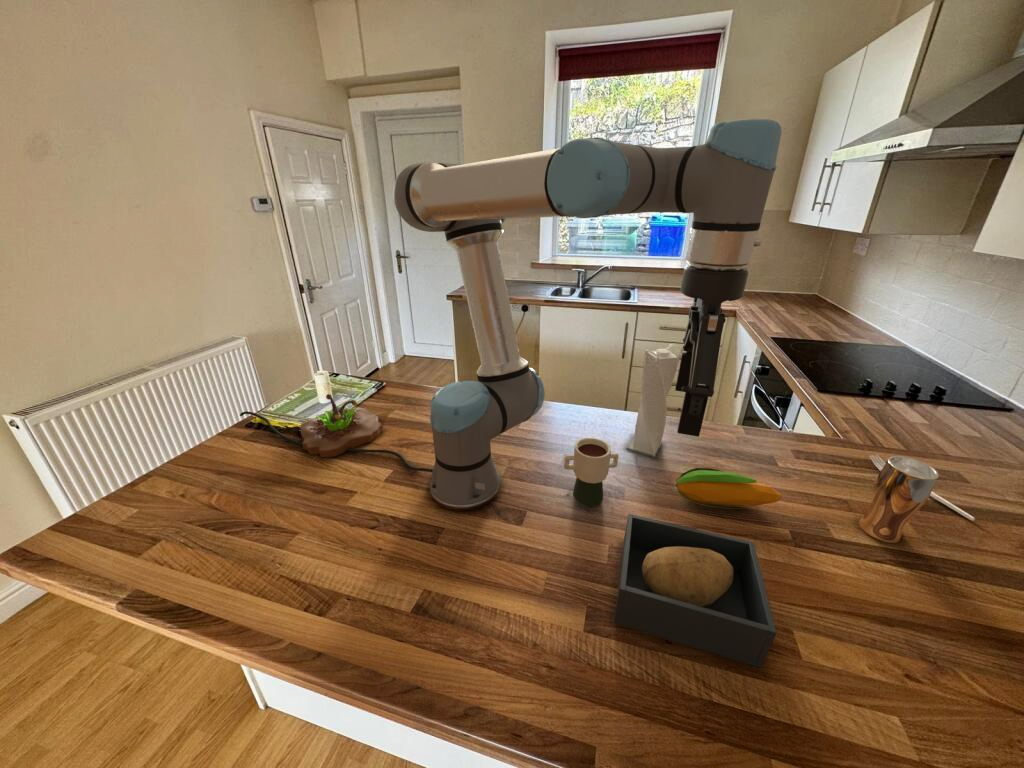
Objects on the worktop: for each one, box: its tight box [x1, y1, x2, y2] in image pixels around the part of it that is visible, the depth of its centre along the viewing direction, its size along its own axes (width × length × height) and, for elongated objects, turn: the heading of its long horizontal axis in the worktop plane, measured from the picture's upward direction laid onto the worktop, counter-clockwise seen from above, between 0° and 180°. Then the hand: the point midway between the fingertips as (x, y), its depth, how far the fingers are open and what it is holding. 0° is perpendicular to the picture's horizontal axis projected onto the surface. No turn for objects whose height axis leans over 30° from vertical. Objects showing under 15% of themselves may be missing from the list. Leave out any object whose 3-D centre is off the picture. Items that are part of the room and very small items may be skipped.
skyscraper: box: [625, 343, 684, 459], centre depth 95 cm, size 8×8×28 cm
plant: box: [299, 393, 384, 458], centre depth 105 cm, size 20×20×11 cm
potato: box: [642, 546, 733, 608], centre depth 62 cm, size 10×14×8 cm
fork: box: [869, 453, 976, 522], centre depth 86 cm, size 3×20×2 cm, turn 12°
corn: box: [675, 467, 783, 510], centre depth 82 cm, size 7×8×20 cm
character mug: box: [563, 437, 619, 508], centre depth 82 cm, size 11×7×13 cm, turn 94°
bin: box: [613, 513, 777, 669], centre depth 62 cm, size 20×16×8 cm
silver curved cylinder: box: [858, 455, 940, 544], centre depth 73 cm, size 7×7×15 cm
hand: (685, 410), depth 60 cm, fingers open, 13 cm apart
